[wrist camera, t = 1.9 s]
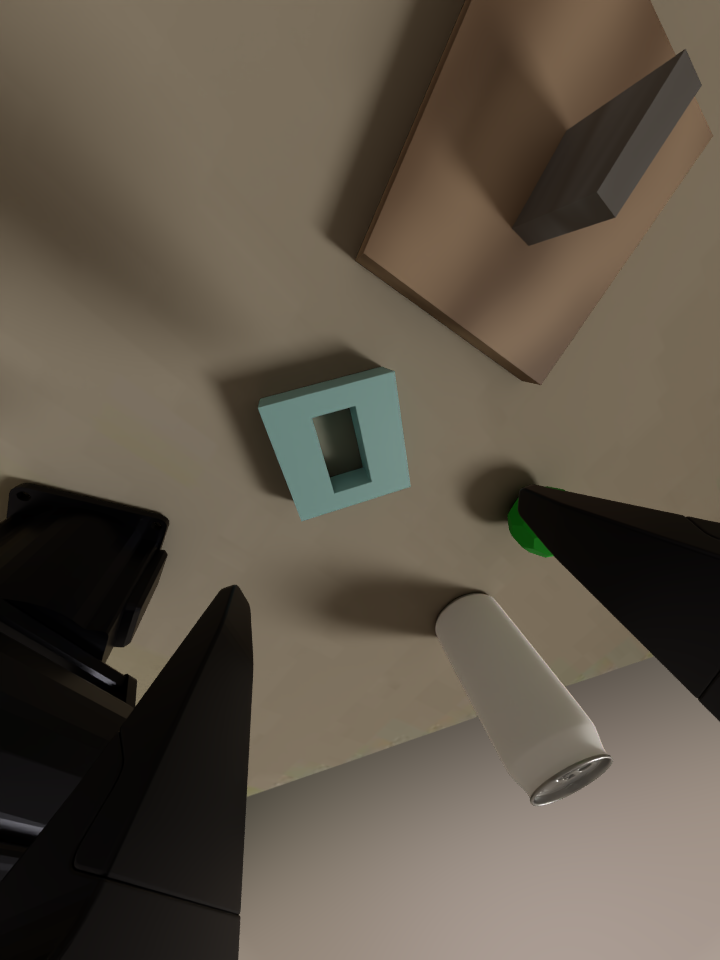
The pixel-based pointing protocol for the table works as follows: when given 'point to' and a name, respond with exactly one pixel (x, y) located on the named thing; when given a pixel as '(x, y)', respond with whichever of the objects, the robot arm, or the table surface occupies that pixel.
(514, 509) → the polyhedron
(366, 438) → the slotted plate
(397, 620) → the table surface
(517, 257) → the post base
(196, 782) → the robot arm
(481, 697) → the can
